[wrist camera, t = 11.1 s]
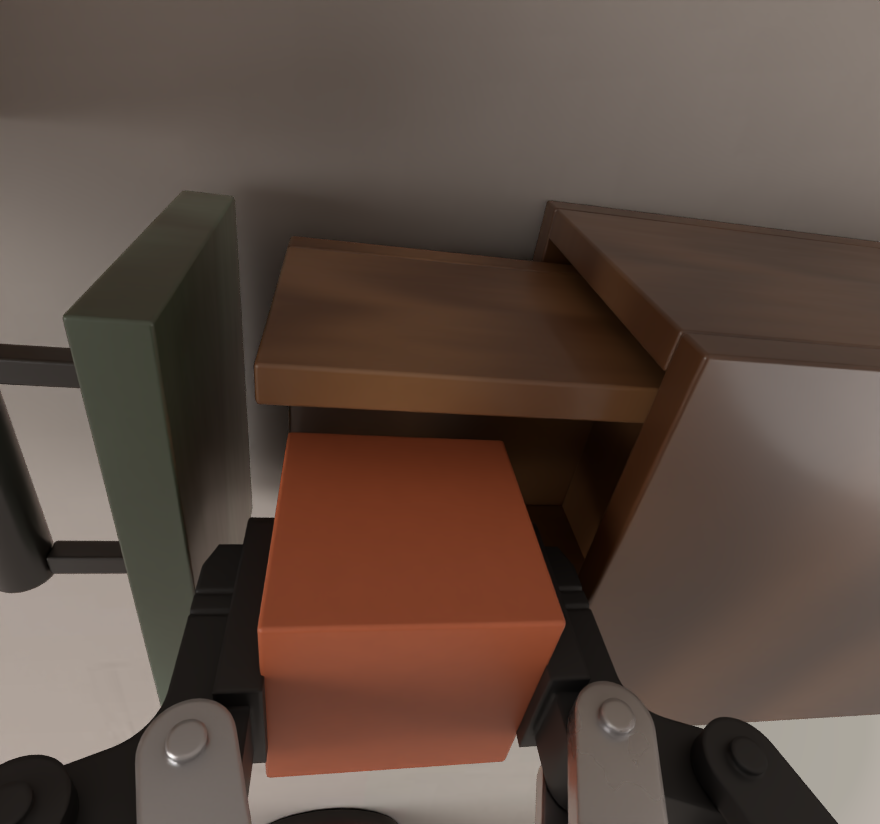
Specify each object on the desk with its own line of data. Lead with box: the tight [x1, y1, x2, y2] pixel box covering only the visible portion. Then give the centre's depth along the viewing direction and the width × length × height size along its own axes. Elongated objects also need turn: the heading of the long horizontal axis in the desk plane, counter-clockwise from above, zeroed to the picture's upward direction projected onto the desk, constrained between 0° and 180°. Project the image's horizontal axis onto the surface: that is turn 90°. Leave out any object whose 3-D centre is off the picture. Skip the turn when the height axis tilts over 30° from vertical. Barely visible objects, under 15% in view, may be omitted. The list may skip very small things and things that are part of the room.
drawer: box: [0, 191, 666, 706], centre depth 14 cm, size 17×10×7 cm, turn 82°
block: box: [257, 432, 566, 778], centre depth 11 cm, size 4×4×4 cm
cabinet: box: [533, 201, 880, 725], centre depth 16 cm, size 14×12×9 cm
